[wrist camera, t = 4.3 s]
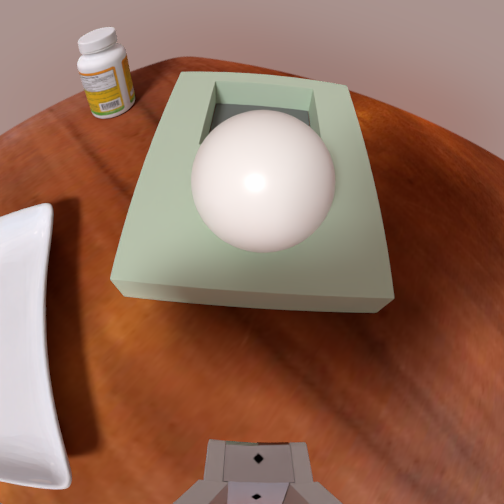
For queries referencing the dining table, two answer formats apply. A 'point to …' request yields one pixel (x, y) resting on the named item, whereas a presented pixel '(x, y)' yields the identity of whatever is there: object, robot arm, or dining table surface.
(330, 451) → the dining table surface
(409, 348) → the dining table surface
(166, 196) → the putting deck
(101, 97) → the supplement bottle
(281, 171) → the ball
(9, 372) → the salad plate
